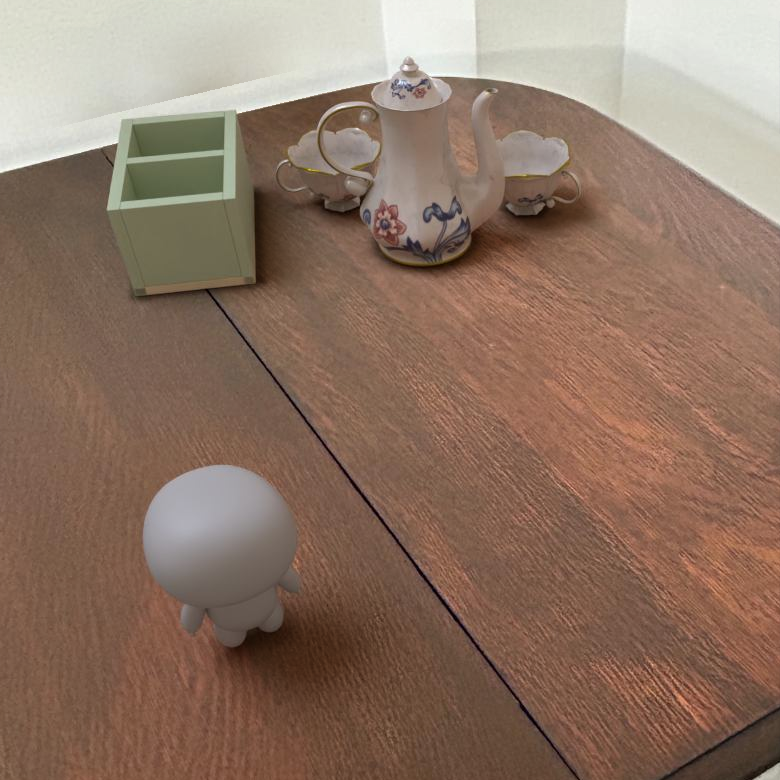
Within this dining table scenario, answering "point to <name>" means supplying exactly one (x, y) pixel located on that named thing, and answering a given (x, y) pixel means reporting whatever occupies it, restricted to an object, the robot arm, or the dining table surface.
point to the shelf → (183, 203)
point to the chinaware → (425, 169)
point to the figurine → (222, 549)
